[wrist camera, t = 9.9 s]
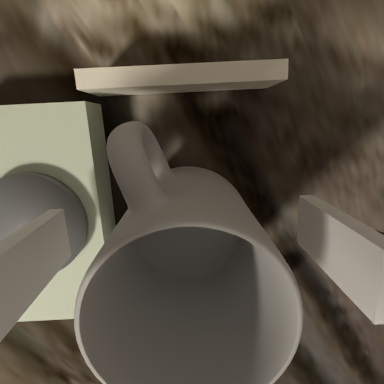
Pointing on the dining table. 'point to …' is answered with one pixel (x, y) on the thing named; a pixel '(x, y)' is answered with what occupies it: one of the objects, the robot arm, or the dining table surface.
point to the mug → (184, 280)
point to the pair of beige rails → (90, 158)
